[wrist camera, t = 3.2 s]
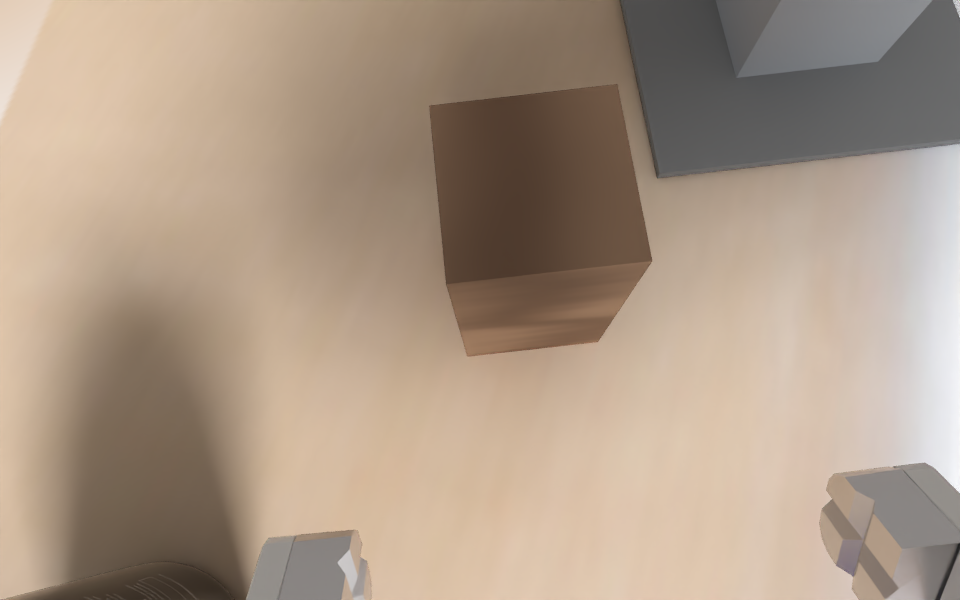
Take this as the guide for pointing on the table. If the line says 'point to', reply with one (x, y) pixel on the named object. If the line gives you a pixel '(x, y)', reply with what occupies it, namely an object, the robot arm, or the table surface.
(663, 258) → the table surface
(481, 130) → the walnut post
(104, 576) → the supplement bottle
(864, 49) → the tower bottom
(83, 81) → the table surface
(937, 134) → the rubber mat
